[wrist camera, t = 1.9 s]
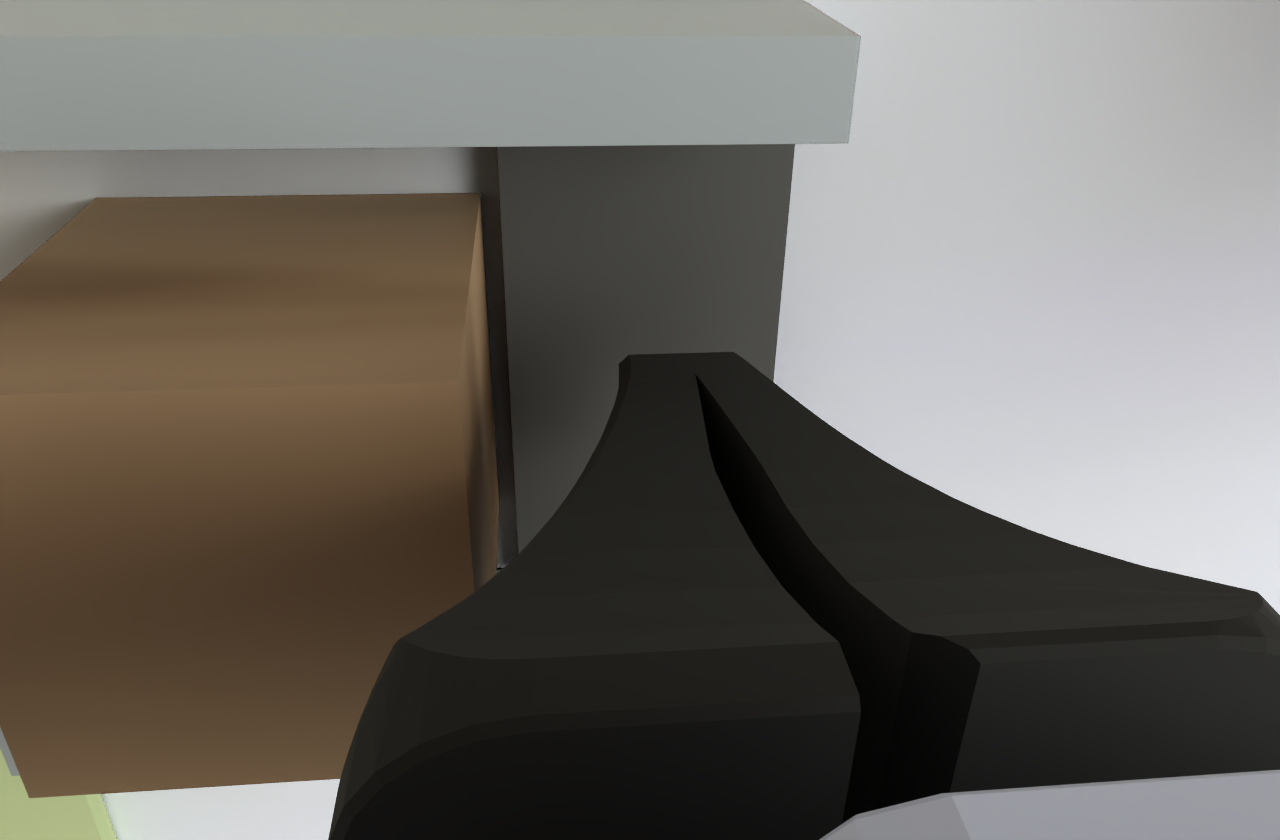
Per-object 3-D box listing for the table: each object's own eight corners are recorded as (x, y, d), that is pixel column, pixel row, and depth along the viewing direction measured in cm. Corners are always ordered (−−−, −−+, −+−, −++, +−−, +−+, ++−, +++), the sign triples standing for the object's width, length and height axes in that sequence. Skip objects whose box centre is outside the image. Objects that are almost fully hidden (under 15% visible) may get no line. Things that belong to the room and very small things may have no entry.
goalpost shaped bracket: (746, 608, 16) (780, 728, 14) (83, 642, 15) (11, 776, 13) (800, -3, 12) (861, 35, 10) (-131, -6, 11) (-293, 35, 9)
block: (499, 496, 15) (488, 769, 11) (176, 508, 15) (29, 797, 10) (480, 191, 13) (457, 381, 8) (98, 195, 12) (-134, 399, 8)
